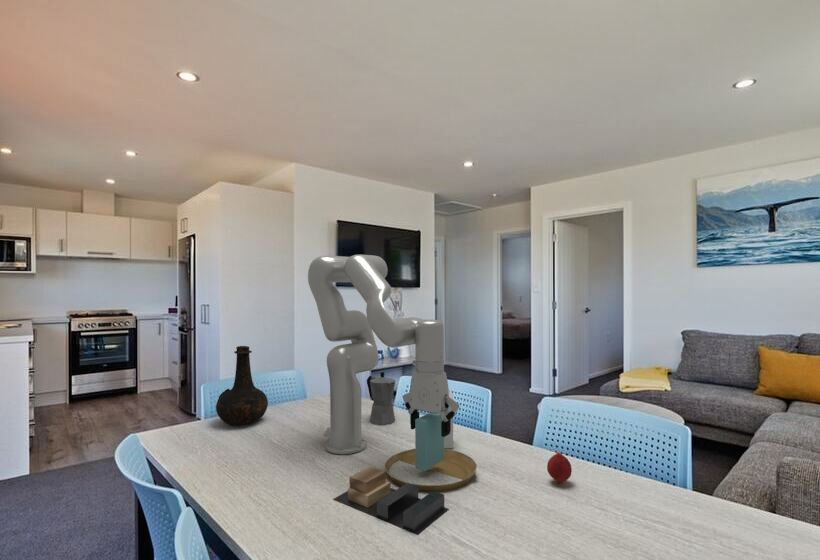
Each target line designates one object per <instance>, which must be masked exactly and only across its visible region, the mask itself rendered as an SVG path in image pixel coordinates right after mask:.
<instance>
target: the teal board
mask: <svg viewBox="0 0 820 560" xmlns="http://www.w3.org/2000/svg"><path fill="white" fill-rule="evenodd" d="M442 421H443V419H442V417H441V416H440V414H439V413H438V414H435V413H430V412H428V413H426V414H425V415H423V416H419V418H418V419H415V429H414V431H415V433H414V434H415V437H414V438H415V441H414V442H415V443H414V445H415V448H414V449H415V451H416V466H415V469H417V470H421V471H422V472H426V471H429V470H428V469H429V468H431V467H433V466H434V465H436V464H437V463H439V462H441V461H442V460H444V449H445V448H444V437H442V436H441V422H442Z"/></svg>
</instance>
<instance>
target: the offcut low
mask: <svg viewBox="0 0 820 560" xmlns="http://www.w3.org/2000/svg"><path fill="white" fill-rule="evenodd" d="M390 488H391V482H390V481H387V480H386V482H385V483H384V484H382V485H380V486H378V487H377V488H375V489H373V490H372V491H370V492H368V493H367V494H365V493H362V492H359V491H357V490H354V489H352V488H350V487H348V488H347V491H348V500H350V501H353V502H355V503H358V504H360V505H363V506H365V507H369V506H371V505H372V504H374V503H376V502H377V501H379V500H380V499H382V498H384V497H385V496H387V495H388V494H390Z"/></svg>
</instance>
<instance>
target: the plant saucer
mask: <svg viewBox="0 0 820 560" xmlns="http://www.w3.org/2000/svg"><path fill="white" fill-rule="evenodd" d="M398 462H402V463H404V464H409V465H412V466H414V467H416V451H415V448H413V449H412V448H411V449H406V450H402V451H400V452H398V453H396V454H394V455H392V456H390V457H389V458H388V459H387V460H386V461H385V463H384V471H385V472H386V475H387V476H388V477H389V479H390V480H391V481H392V482H394V483H395V484H397V485H398V486H400V487H402V486H403V485H405V484H406V483H409V482H407V481H405V480H404V481H403V480H401V479H398V478H396V477H394V476H393V475H391V474H390V470H391V468H392V466H393V465H395V464H396V463H398ZM477 467H478V466H477V463H476V461H475V460H474V459H473V458H472V457H470V456H469V455H467V454H466V453H463V452H461V451H457V450H453V449H451V448H444V460H442V461H441V462H439V463H437V464H436V465H434V466H433V467H431V468H429V469H428V470H427V471H432V472H435V473H438V474H441V475H445V476H449V477H452V478H455V479H459V481H455V482H452V483H446V484H434V485H433V484H432V485H431V484H417V483H412V482H410V483H411V484H414V485H417V486H418V492H419V491H420V492H432V491H434V492H442V491H449V490H452V489H457V488H459V487H462V486H464V485H465V484H467V483H468V482H469V481H470V480H472V478H473V477H474V475H475V473H476V471H477Z"/></svg>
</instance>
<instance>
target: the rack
mask: <svg viewBox="0 0 820 560" xmlns="http://www.w3.org/2000/svg"><path fill="white" fill-rule="evenodd" d="M411 483H412V482H408V483H406V484H405V485H403V486H400V487H399V488H397V489H394V488H391V487H390V494H388V495H387V496H385V497H384V498H382V499H380V500H379V501H377V502H376V503H374V504H372V505H371V506H369V507H365V506H363V505H360V504H358V503H355V502H353V501H350V500H348V490H347V491H345V492H343V493H341V494H340V495H338V496H335V497H333V498H332V500H333V501H335V502H338V503H339V504H342V505H345V506H347V507H349V508H352V509H355V510H357V511H359V512H362V513H364V514H365V515H369V516H371V517H373V518H376V519H378V520H381V521H383V522H385V523H388V524H390V525H393V526H395V527H398V528H400V529H401V530H404V531H407V532H409V533H411V534H413V535H416V536H419V535H420V534H421V533H422V532H423V531H425V530H426V529H427V528H429V527H430V526H431V525H432V524H433V523H435V522H436V521H437V520H438V519H439V518H441V517H442V516H443V515H445V513H447V512H448V511H449V510H450V508H448V507H445V494H443V493H440V492H438V491H430V492H429V493H428V494H426V495H425V496H424V497H422V498H420V497H419V490H418V486H417V485H414V484H415V483H412V484H411Z"/></svg>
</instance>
